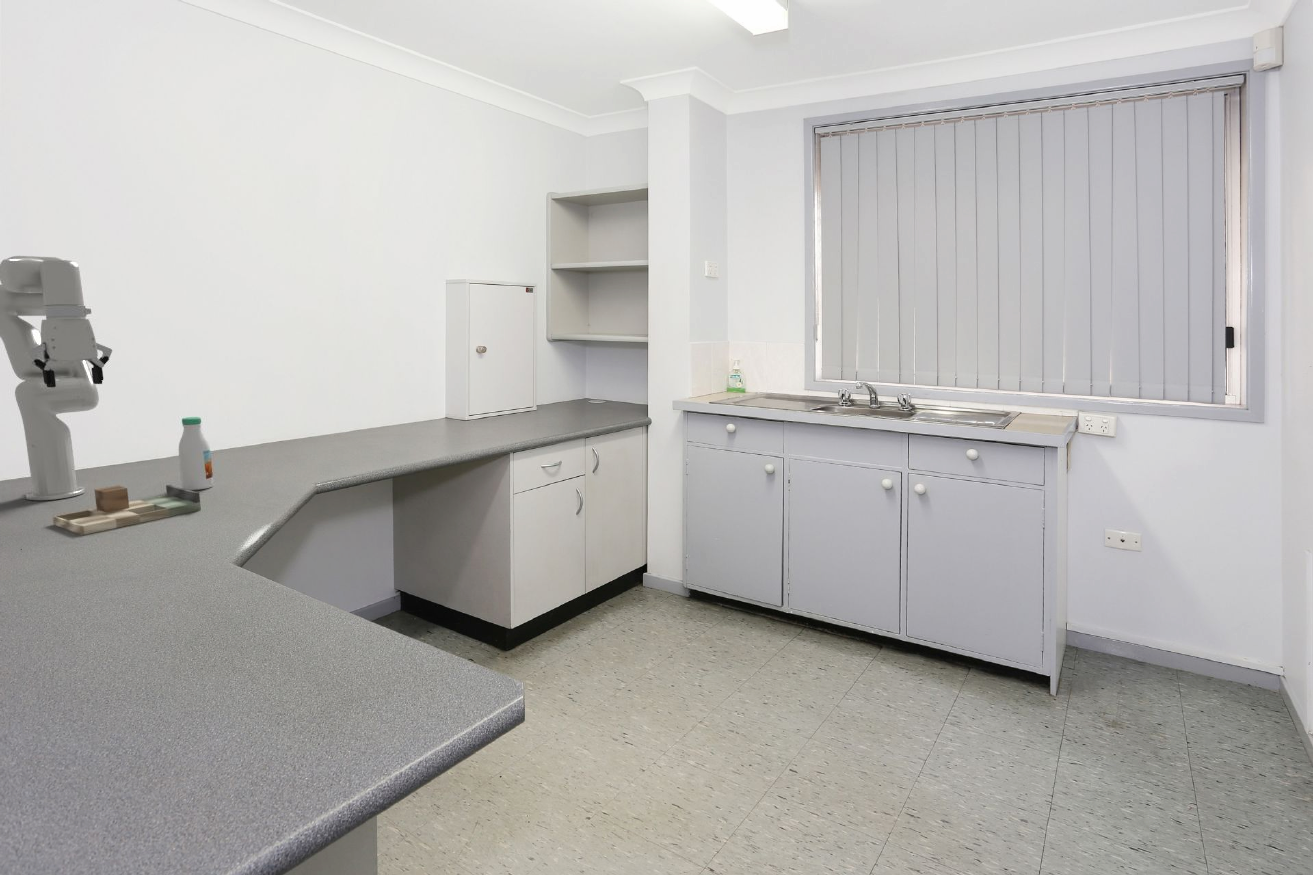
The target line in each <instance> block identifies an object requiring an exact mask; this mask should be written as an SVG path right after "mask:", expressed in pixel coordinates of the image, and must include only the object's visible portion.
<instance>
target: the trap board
mask: <svg viewBox="0 0 1313 875" xmlns="http://www.w3.org/2000/svg"><path fill="white" fill-rule="evenodd" d="M165 489H166V494H164V495H158V496H152V497H147V498H143V499H137V500H132V501H131V500H130V501H129V508H127V509H121V510H116V511H111V512H103V511H100V510H97V507H95V508H89V509H84V510H78V511H73V512H69V513H62V514H58V515H57V514H56V515H53V516H52V523H53V525H54V526H57V527H59V528H62V529H65V530H68V531H70V532H72V533H75V534H77V535H81V536H84V535H88V534H89V535H90V534H93V533H99V532H103V531H108V530H112V529H117V528H121V527H127V526H131V525H136V524H141V523H144V522H146V523H147V522H150V521H151V522H152V521H154V520H159V519H164V518H169V517H173V516H174V517H175V516H179V515H184V514H189V513H193V512H197V511H201V510H202V507H201V497H200V492H199V491H196V490H187V489H183V488H182V487H178V486H175V485H172V484H167V485H165Z"/></svg>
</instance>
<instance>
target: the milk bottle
mask: <svg viewBox="0 0 1313 875" xmlns="http://www.w3.org/2000/svg"><path fill="white" fill-rule="evenodd" d="M181 424H182V427H183V431H182V435H181V438H180V439H179V440H180V441H179V442H178V443H179V444H178V460H179V471H180V481H181V483H180V484H181V488H183V489H187V490H191V491H197V490H206V489H209V488H212V487H213V486H214V477H213V476H214V474H213V473H214V472H213V466H212V464H213V463H212V456H211V454H212V453H211V448H210V447H211V446H210V443H209V441H208V438H207V437H206V436H205V434H204V432H203V430H202V418H201V417H200V416H199V417H198V416H191V417H190V416H189V417H183V418H182V419H181Z"/></svg>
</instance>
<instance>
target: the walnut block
mask: <svg viewBox="0 0 1313 875" xmlns="http://www.w3.org/2000/svg"><path fill="white" fill-rule="evenodd" d="M94 499H95V505H96V506H95V508H97V510H100V511H103V512H111V511H116V510H121V509H127V508H129V502H130V501H129V493H128V488H127V487H126V486H125V487H124V486H122V485H112V486H108V487H107V486H106V487H100V488H95V489H94Z"/></svg>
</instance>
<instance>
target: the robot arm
mask: <svg viewBox="0 0 1313 875" xmlns="http://www.w3.org/2000/svg"><path fill="white" fill-rule="evenodd" d="M80 272H81V270H80V267H79V264H78V263H77V262H75V261H73V260H67V259H61V258H59V257H55V256H54V257H53V256H32V255H31V256H30V255H15V256H10V257H7V258H5V259H3V260H1V262H0V283H1V284H0V338H1V340H2V343H3V345H4V348H5V351H6V354H7V356H8V359H9V363H10V365H11V367H12V370H13V372H14V374H15V375H16V376H17V377H16V378H19V380H22V381H21V382H20V383H19V384H17V386H16V387H15V389H14V390H15V391H14V397H15V400H16V401H15V402H16V404H17V406H18V409H19V413H20V416H21V420H22V424H23V430H24V436H25V444H26V450H27V451H26V452H27V458H28V459H27V460H28V464H29V465H28V466H29V473H30V480H31V481H30V482H31V487H32V490H31V491H28V492H26V493H25V499H26V500H29V501H50V500H51V501H52V500H61V499H67V498H72V497H76V496H79V495H82V494H84V493H85V491H86V490H85V487H84V486H80V485H78V482H77V477H76V476H77V475H76V467H75V459H74V452H73V451H74V450H73V443H72V435H71V430H70V428H69V426H68V425H67V424H66V423H65V422H64V421H63V420H61V419H60V418H59V417H58V416H57V415H58V414H59V415H60V414H65V413H79V412H87V411H91V410H93V409H95V408H96V407H97V406H98V405H99V402H100V400H99V397H100V396H99V391H98V388H97V385H102V384H103V381H104V372H103V368H104V367H105V365H106V364H107V362H109V360H110V357H111V355H112V353H113V349H112V348H110V347H107V346H105V345H103V344H100V343H97V341H96V338H95V337H96V336H95V332H94V330H93V327H92V324H91V321H90V319H89V318H86V317H87V315H92V310H91V308H87V307H86V305H85V304H84V297H83V296H84V295H83V294H84V293H83V287H82V286H83V285H82V278H81V273H80ZM20 317H45V319H42V320H41V323H40V331H39V329H37V327H36V326H34V325H33V324H31V323H29V321H26V320H24V319H22V318H20ZM98 351H100V352H102V355H101V357H99V358H98V355H99V354H98V353H99V352H98ZM88 363H89V364H91V365H92V367H91V370H90V367H89V365H88Z"/></svg>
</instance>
